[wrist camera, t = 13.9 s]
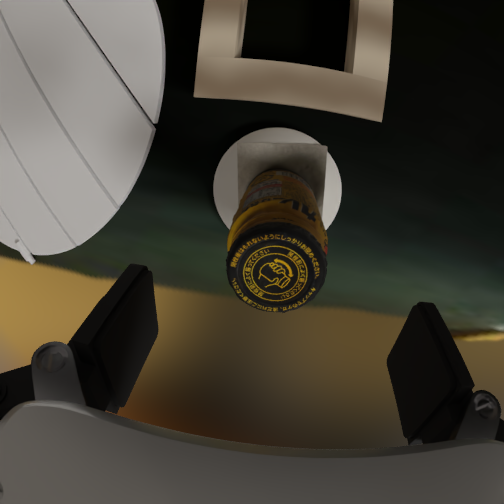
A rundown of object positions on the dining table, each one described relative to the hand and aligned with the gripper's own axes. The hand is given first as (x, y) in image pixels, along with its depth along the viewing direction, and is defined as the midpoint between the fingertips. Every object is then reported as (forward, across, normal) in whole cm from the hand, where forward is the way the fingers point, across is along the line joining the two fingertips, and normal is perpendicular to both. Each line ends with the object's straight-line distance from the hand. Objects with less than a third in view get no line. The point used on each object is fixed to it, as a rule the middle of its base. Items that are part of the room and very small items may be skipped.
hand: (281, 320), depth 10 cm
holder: (+18, +1, -15) cm, 24 cm away
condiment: (+17, 0, +1) cm, 17 cm away
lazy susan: (+18, +31, -8) cm, 37 cm away
